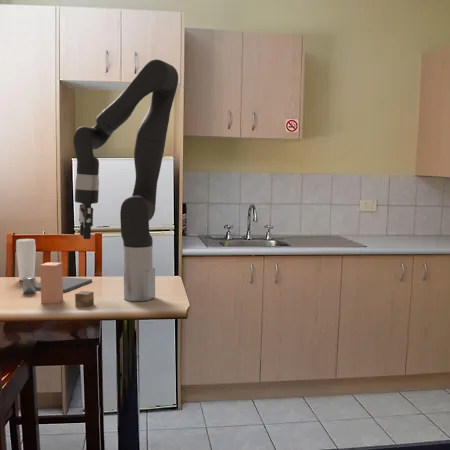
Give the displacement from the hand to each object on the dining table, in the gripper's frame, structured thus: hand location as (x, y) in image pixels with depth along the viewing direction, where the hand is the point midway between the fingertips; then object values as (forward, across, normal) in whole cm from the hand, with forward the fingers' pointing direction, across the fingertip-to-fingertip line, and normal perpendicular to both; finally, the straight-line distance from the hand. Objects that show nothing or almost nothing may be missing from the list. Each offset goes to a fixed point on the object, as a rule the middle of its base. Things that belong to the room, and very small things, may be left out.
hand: (85, 237), depth 181 cm
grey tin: (+20, +7, +16) cm, 27 cm away
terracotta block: (+20, -8, +10) cm, 24 cm away
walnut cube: (+19, -16, +2) cm, 25 cm away
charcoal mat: (+20, +15, +5) cm, 25 cm away
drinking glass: (+21, +30, +16) cm, 40 cm away
